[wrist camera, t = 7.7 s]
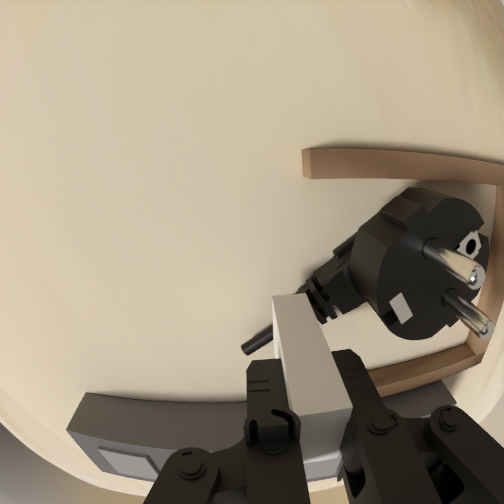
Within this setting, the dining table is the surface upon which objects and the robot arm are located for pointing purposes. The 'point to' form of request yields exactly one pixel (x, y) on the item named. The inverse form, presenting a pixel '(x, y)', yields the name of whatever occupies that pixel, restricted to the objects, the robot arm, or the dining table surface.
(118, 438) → the power strip
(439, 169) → the bay
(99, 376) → the dining table surface
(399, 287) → the power plug
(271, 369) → the robot arm
